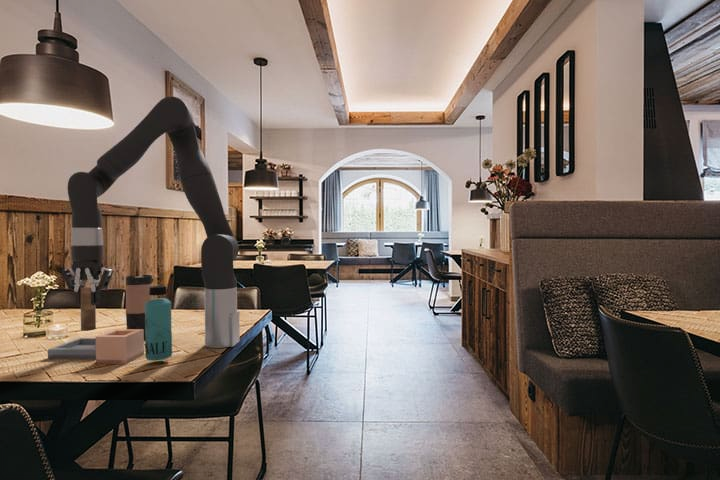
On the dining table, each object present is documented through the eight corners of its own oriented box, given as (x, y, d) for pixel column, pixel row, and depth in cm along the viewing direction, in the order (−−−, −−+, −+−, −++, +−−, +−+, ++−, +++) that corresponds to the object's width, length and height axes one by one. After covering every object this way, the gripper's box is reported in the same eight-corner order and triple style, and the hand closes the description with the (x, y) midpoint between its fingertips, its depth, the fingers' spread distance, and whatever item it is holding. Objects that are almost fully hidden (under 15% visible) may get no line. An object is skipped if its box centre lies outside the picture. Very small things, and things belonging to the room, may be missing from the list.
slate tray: (126, 346, 119) (126, 337, 119) (98, 358, 107) (98, 349, 107) (80, 346, 120) (80, 337, 120) (47, 358, 108) (47, 349, 108)
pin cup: (144, 354, 111) (143, 329, 111) (126, 363, 103) (126, 336, 103) (115, 354, 111) (115, 329, 111) (96, 363, 103) (95, 336, 103)
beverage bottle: (165, 357, 109) (164, 283, 108) (177, 362, 104) (176, 285, 104) (140, 363, 104) (139, 286, 103) (151, 368, 99) (150, 288, 99)
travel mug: (141, 342, 124) (140, 277, 124) (120, 340, 125) (119, 277, 125) (158, 335, 131) (158, 275, 131) (138, 334, 133) (137, 274, 133)
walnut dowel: (98, 328, 115) (98, 286, 115) (90, 331, 112) (89, 288, 112) (86, 327, 115) (86, 286, 115) (77, 330, 112) (77, 288, 112)
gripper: (120, 243, 117) (120, 302, 117) (72, 243, 117) (73, 302, 117) (103, 244, 109) (103, 307, 109) (52, 244, 110) (53, 306, 110)
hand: (88, 304), depth 113 cm, fingers closed on walnut dowel, 3 cm apart
